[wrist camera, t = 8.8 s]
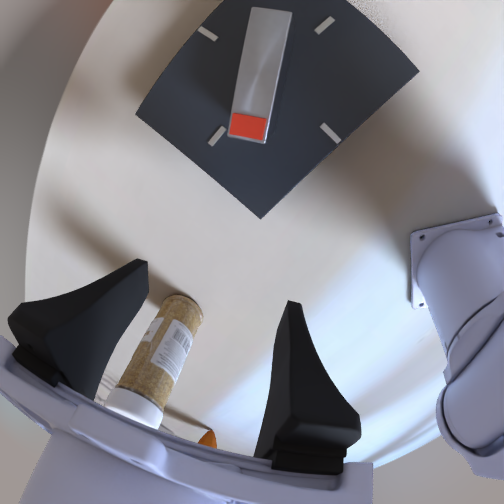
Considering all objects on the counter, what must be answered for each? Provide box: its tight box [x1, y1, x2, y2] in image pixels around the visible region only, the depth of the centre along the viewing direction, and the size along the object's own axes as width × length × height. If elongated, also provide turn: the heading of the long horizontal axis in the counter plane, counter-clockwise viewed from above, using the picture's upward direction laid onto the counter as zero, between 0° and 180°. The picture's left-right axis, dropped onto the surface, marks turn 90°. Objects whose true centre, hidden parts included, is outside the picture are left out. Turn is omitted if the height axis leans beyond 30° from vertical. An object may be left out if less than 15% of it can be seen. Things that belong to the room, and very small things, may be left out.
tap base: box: [135, 0, 419, 219], centre depth 15 cm, size 14×11×3 cm
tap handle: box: [227, 7, 295, 144], centre depth 12 cm, size 6×2×4 cm, turn 170°
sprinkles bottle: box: [104, 295, 203, 430], centre depth 23 cm, size 5×5×14 cm
